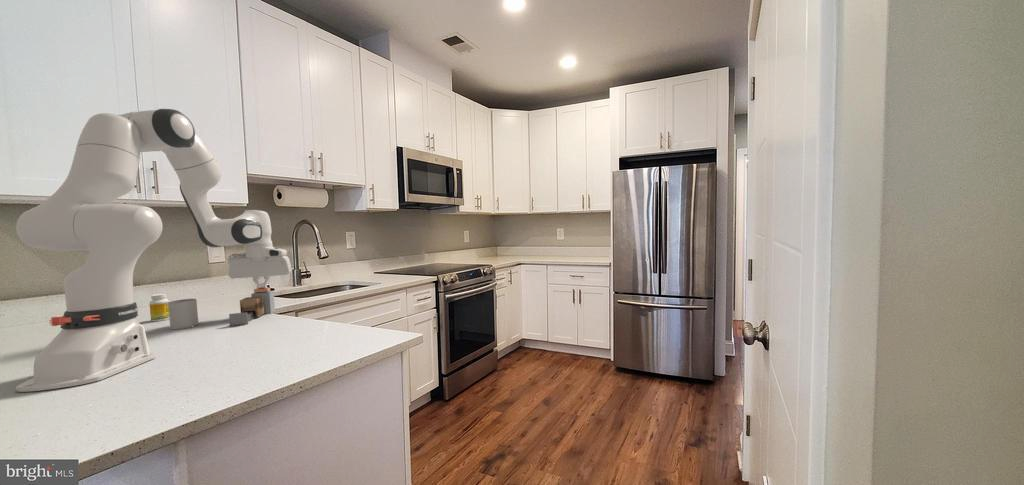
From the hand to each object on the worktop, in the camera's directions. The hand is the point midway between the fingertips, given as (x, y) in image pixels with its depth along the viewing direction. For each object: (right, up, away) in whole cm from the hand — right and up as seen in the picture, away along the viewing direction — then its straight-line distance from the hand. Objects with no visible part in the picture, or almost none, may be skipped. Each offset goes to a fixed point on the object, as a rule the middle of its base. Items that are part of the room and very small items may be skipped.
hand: (262, 288), depth 143 cm
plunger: (0, -5, 0) cm, 5 cm away
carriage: (+1, -10, -6) cm, 12 cm away
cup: (-16, -11, -15) cm, 25 cm away
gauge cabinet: (0, -10, 0) cm, 10 cm away
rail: (+2, -10, -10) cm, 14 cm away
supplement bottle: (-35, -12, -4) cm, 37 cm away
